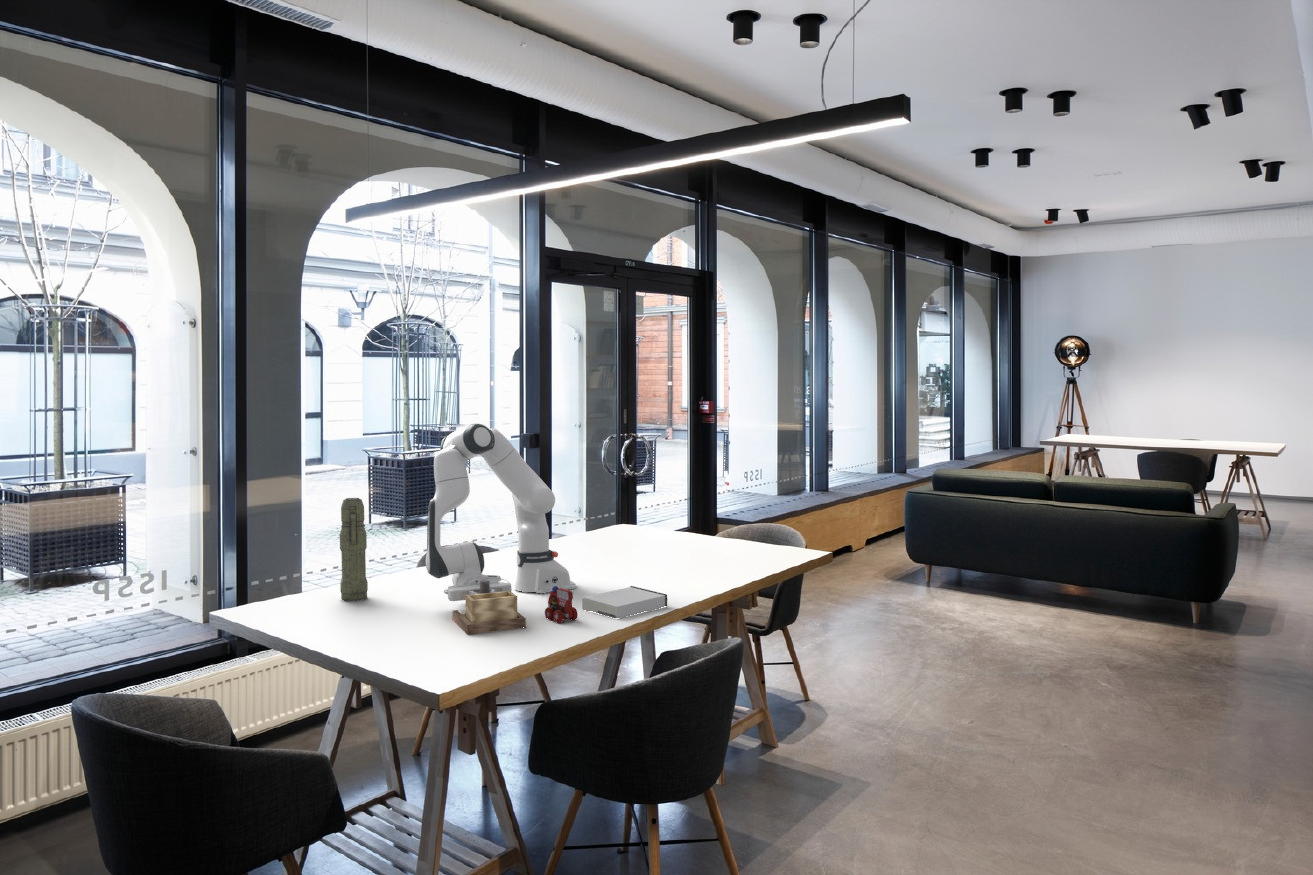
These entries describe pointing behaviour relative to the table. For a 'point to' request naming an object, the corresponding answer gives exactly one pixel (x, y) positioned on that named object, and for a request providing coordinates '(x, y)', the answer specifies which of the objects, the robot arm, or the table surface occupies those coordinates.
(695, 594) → the table surface
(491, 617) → the crate
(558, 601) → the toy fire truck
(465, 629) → the tray
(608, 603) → the disc drive
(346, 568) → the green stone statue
